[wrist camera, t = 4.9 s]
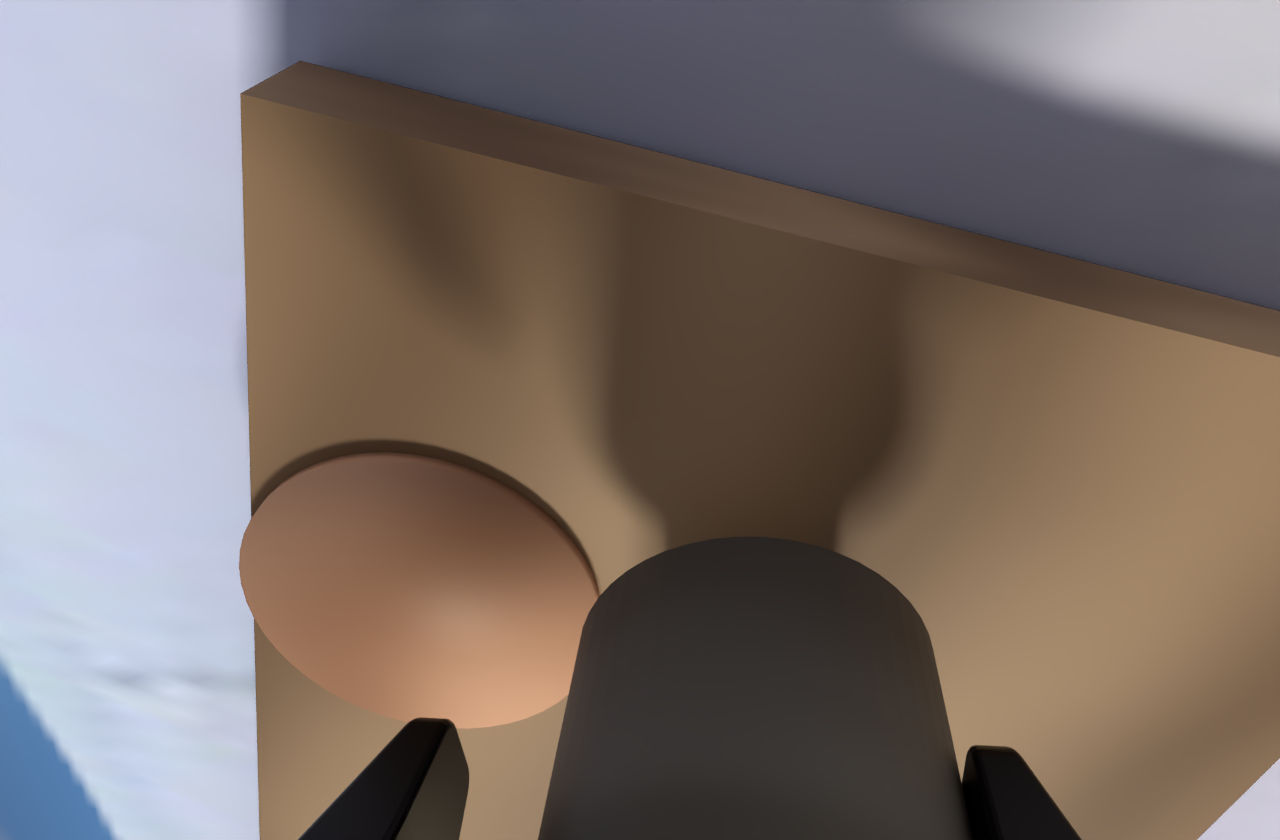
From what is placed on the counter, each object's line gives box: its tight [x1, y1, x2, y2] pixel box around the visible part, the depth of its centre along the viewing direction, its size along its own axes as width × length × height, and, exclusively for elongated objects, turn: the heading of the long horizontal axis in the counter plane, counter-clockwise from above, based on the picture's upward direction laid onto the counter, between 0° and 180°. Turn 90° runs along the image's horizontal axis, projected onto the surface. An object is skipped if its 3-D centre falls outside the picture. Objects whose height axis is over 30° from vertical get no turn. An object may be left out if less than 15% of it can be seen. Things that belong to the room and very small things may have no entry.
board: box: [239, 61, 1280, 840], centre depth 16 cm, size 15×20×2 cm
